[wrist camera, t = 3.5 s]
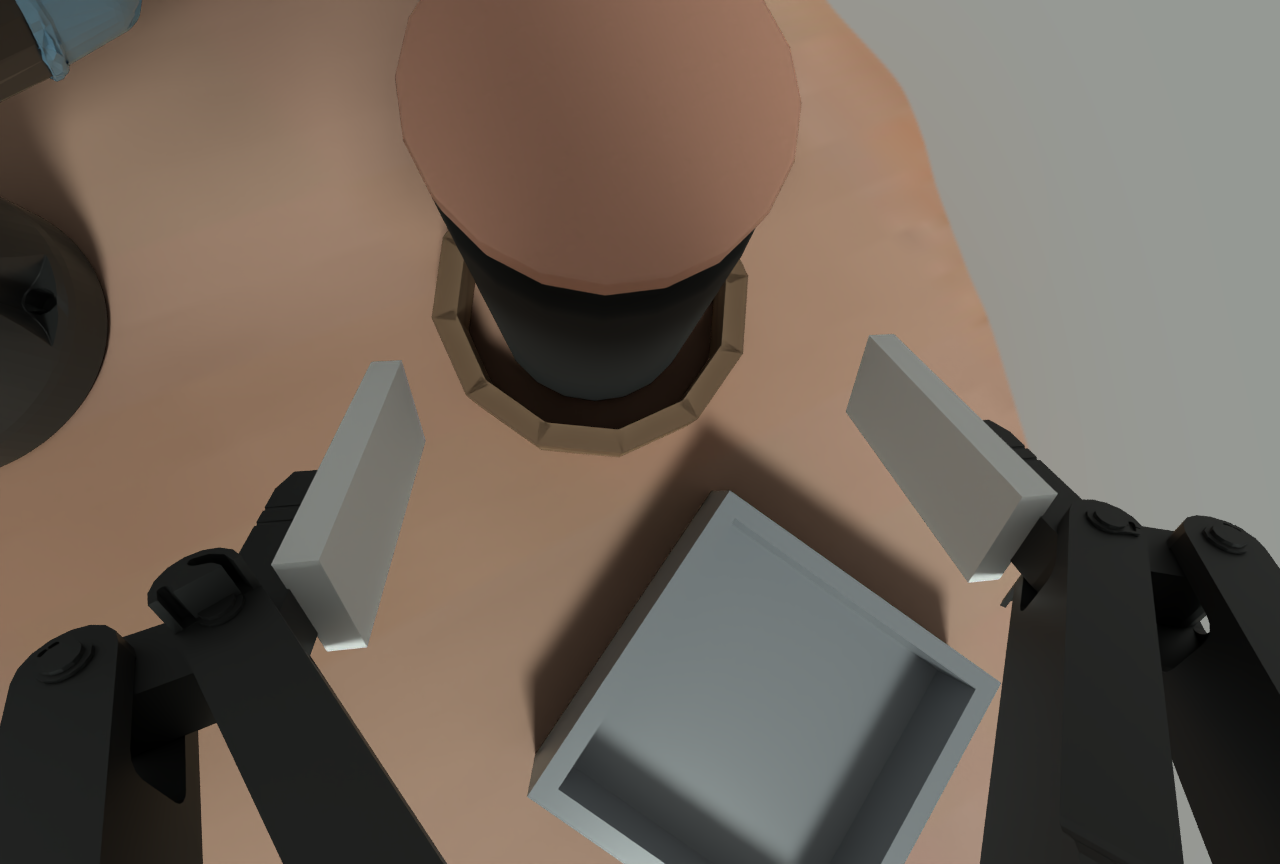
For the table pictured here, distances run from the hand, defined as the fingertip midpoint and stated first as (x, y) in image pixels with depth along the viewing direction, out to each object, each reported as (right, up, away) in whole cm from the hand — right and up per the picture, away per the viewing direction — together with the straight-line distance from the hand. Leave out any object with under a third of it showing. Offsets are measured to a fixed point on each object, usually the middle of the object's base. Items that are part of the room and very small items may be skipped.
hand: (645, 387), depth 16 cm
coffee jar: (-3, +6, +16) cm, 18 cm away
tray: (+6, -16, +15) cm, 23 cm away
